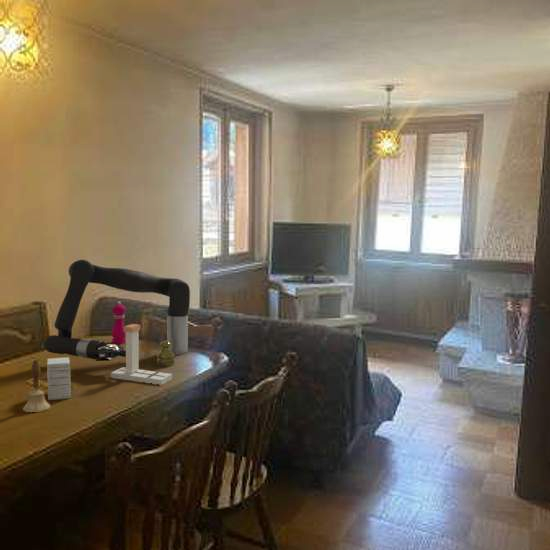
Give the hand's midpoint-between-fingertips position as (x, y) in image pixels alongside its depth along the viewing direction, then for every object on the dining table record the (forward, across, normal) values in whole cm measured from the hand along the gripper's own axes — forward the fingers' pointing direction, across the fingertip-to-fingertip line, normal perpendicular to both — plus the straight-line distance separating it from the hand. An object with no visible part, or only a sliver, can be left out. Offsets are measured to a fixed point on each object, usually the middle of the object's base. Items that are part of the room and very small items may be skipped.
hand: (129, 354), depth 215 cm
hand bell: (-8, -40, +9) cm, 42 cm away
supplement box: (-10, -28, +9) cm, 31 cm away
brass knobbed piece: (+4, +21, +9) cm, 23 cm away
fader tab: (+1, 0, +7) cm, 7 cm away
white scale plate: (+6, 0, +9) cm, 11 cm away
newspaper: (-27, +25, +10) cm, 39 cm away
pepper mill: (-34, +43, +9) cm, 56 cm away
